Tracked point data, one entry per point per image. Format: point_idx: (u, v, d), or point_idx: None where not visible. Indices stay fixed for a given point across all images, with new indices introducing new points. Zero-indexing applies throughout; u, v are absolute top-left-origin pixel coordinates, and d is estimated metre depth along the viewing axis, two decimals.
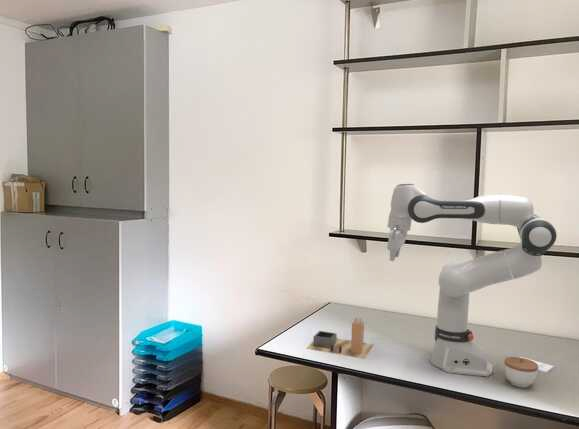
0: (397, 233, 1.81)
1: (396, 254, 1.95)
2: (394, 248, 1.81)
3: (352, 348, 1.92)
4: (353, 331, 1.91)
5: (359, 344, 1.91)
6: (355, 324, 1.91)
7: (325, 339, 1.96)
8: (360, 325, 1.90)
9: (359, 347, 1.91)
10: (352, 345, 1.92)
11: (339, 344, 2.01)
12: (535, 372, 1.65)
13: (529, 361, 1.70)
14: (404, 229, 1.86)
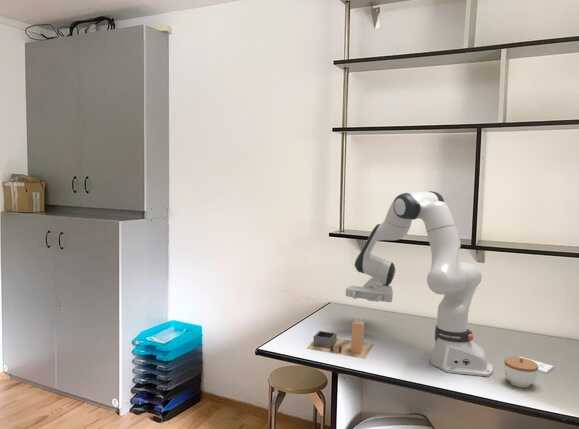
0: None
1: None
2: (346, 289, 2.12)
3: (352, 348, 1.92)
4: (353, 331, 1.91)
5: (359, 344, 1.91)
6: (355, 324, 1.91)
7: (325, 339, 1.96)
8: (360, 325, 1.90)
9: (359, 347, 1.91)
10: (352, 345, 1.92)
11: (339, 344, 2.01)
12: (535, 372, 1.65)
13: (529, 361, 1.70)
14: (364, 284, 2.16)
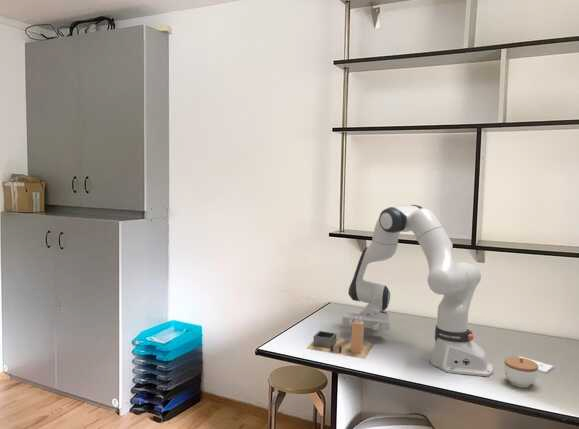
0: None
1: None
2: None
3: (352, 348, 1.92)
4: (353, 331, 1.91)
5: (359, 344, 1.91)
6: (355, 324, 1.91)
7: (325, 339, 1.96)
8: (360, 325, 1.90)
9: (359, 347, 1.91)
10: (352, 345, 1.92)
11: (339, 344, 2.01)
12: (535, 372, 1.65)
13: (529, 361, 1.70)
14: (361, 311, 2.13)
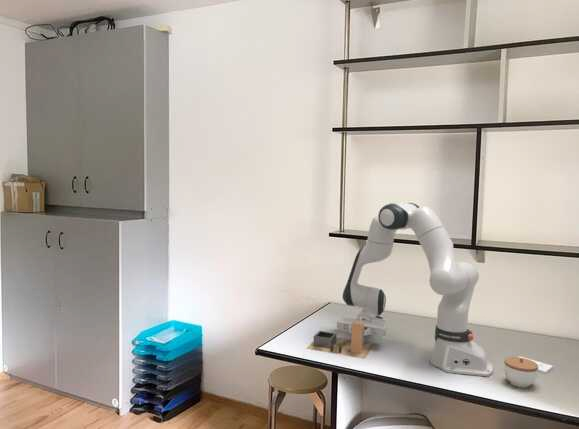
0: None
1: None
2: (337, 322, 2.01)
3: (352, 348, 1.92)
4: (353, 331, 1.91)
5: (359, 344, 1.91)
6: (355, 324, 1.91)
7: (325, 339, 1.96)
8: (360, 325, 1.90)
9: (359, 347, 1.91)
10: (352, 345, 1.92)
11: (339, 344, 2.01)
12: (535, 372, 1.65)
13: (529, 361, 1.70)
14: None
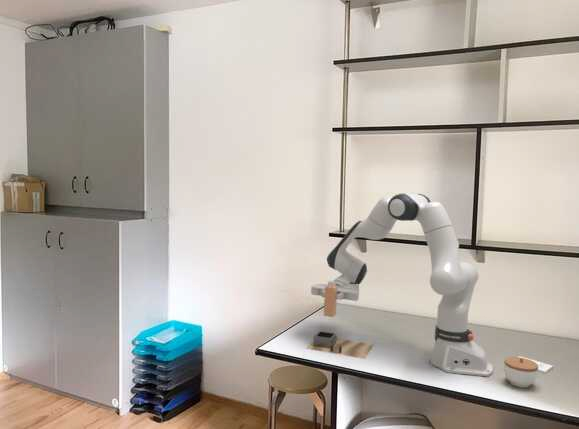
0: None
1: None
2: None
3: (325, 311, 1.97)
4: (326, 295, 1.96)
5: (332, 307, 1.96)
6: (328, 288, 1.96)
7: (325, 339, 1.96)
8: (333, 289, 1.95)
9: (332, 310, 1.96)
10: (325, 308, 1.97)
11: (339, 344, 2.01)
12: (535, 372, 1.65)
13: (529, 361, 1.70)
14: (331, 282, 2.10)
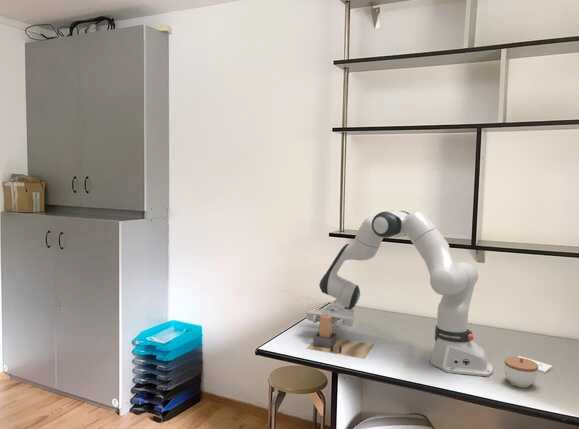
0: None
1: None
2: (307, 313, 2.08)
3: None
4: (321, 324, 1.98)
5: (327, 337, 1.98)
6: (323, 318, 1.98)
7: (325, 339, 1.96)
8: (327, 319, 1.97)
9: None
10: None
11: (339, 344, 2.01)
12: (535, 372, 1.65)
13: (529, 361, 1.70)
14: (326, 307, 2.11)
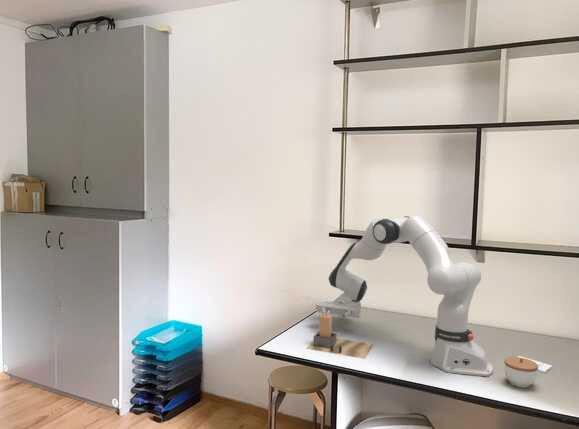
0: None
1: None
2: (316, 305, 2.20)
3: None
4: (321, 324, 1.98)
5: (327, 337, 1.98)
6: (323, 318, 1.98)
7: (325, 339, 1.96)
8: (327, 319, 1.97)
9: None
10: None
11: (339, 344, 2.01)
12: (535, 372, 1.65)
13: (529, 361, 1.70)
14: (334, 300, 2.23)
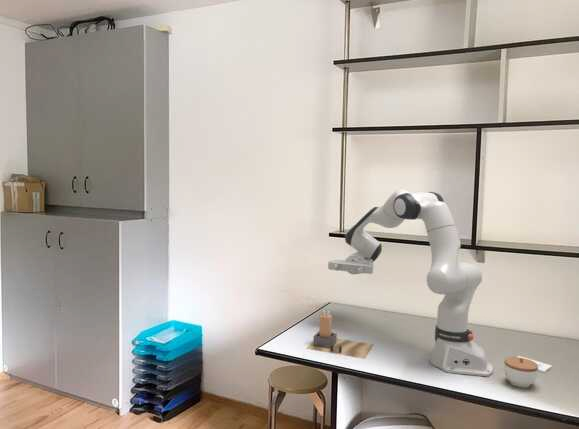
0: None
1: None
2: None
3: None
4: (321, 324, 1.98)
5: (327, 337, 1.98)
6: (323, 318, 1.98)
7: (325, 339, 1.96)
8: (327, 319, 1.97)
9: None
10: None
11: (339, 344, 2.01)
12: (535, 372, 1.65)
13: (529, 361, 1.70)
14: (346, 258, 2.23)
